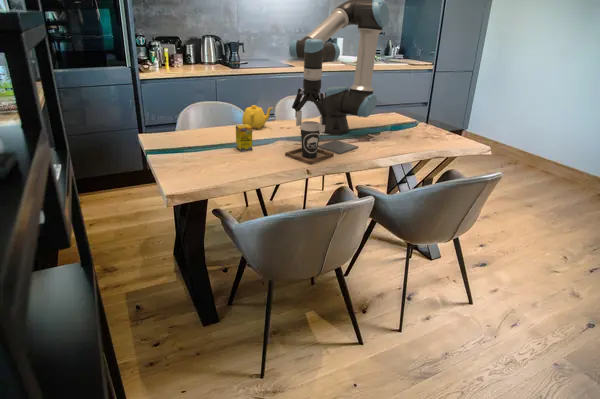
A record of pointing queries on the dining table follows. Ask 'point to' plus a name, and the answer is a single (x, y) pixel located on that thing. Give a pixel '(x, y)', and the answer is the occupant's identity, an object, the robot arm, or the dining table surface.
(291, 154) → the frame
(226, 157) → the dining table surface
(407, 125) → the dining table surface
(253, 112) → the teapot
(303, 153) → the coffee cup
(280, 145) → the dining table surface
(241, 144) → the supplement box
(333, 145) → the coaster
